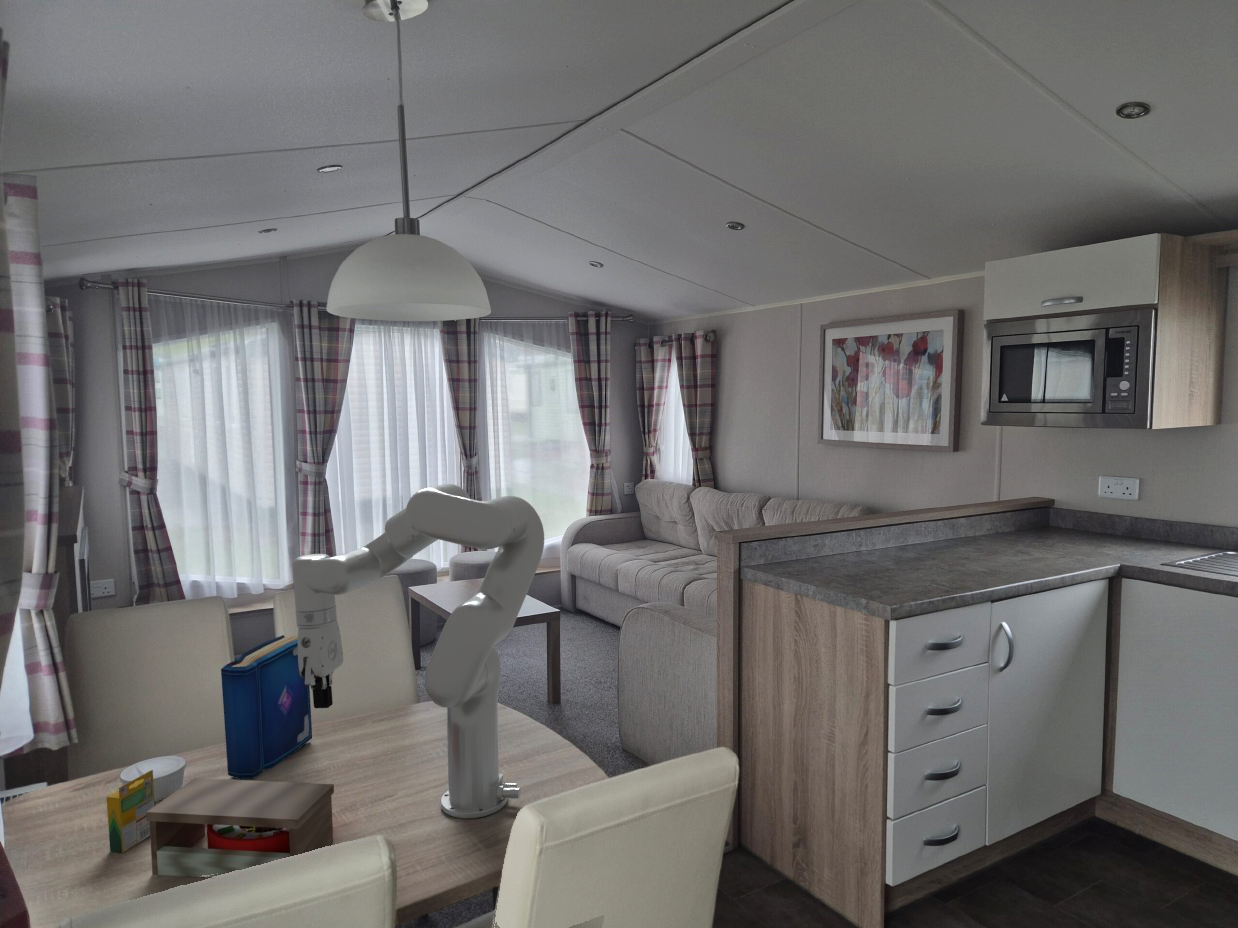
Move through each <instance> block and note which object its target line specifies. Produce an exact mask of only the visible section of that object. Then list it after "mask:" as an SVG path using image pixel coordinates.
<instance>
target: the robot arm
mask: <svg viewBox="0 0 1238 928" xmlns="http://www.w3.org/2000/svg"><path fill="white" fill-rule="evenodd" d="M438 540H439V541H444V542H447V543H452V544H455V545H460V546H464V547H468V548H473V549H477V550H493V549H496V548H498V550H497V551H496V553H495V554H494V556H493V558H492V560H491V561H490V563H489V565H488V567H487V568H486V569H487V570H486V572H485V575H484V578H483V580H482V582H481V584H480V586H479V588H478V590H477V592H476V594H474V595H473V596H472V597H471V598H470V599H468V600H466V601H463V602H462V603H461V604H459V605H458V606H457V607H456V608H455V609H454V610H453V611H452V612H451V614H450V615H449V616H448V618H447V619H446V621H445V624H444V625H443V628H442V630H441V633H440V634H439V635H440V636H439V637H438V640H437V641H436V645H435V647H434V649H433V651H432V655H431V657H430V659H429V661H428V663H427V667H426V669H425V672H424V673H425V674H424V688H425V692H426V694H427V696H428V698H429V699H430V700H431V702H433V704H435V705H437V706H438V707H441V708H447V709H446V731H447V734H446V737H447V768H448V770H447V773H448V775H447V776H448V779H447V780H448V790H447V791H445V792H444V793H443V794H442V796H441V798H440V808H441V810H442V811H443V813H445V814H446V815H448V816H450V817H452V818H458V819H478V818H483V817H486V816H490V815H493V814H495V813H497V812H498V811H500V810H501V809H502V808H504V806H505V805H506V804H507V802H508V798H509V799H517V800H518V799H519V800H520V798H521V794H522V793H521V787H518V783H517V782H506V781H505V780H504V773H500V772H499V733H498V732H499V729H498V727H499V725H498V723H499V721H498V717H499V716H498V715H499V714H498V705H499V704H498V698H499V688H500V687H499V686H500V680H501V679H500V678H501V660H500V655H499V653H498V651H497V649H496V647H495V646H496V645H497V644H499V643H500V642H502V640H504V639H505V638H506V637H507V636H509V634H510V633H511V632H512V630H513V629H514V626H515V625H516V624H515V623H516V621H517V618H518V615H519V613H520V611H521V609H522V606H523V604H524V602H525V599H526V597H527V595H528V593H529V589H530V587H531V584H532V582H533V580H534V577H535V574H536V573H537V570H538V568H539V566H540V562H541V559H542V557H543V552H544V548H545V530H544V526H543V522H542V520H541V518H540V515H539V514H538V513H537V510H536V509H535V508H534V507H533V506H532V505H531V503H529V502H528V501H527V500H525V499H523V498H522V497H519V496H513V495H512V496H511V495H507V496H499V497H496V498H493V499H489V500H485V501H481V500H477V499H471V497H470V495H469V494H468V492H467V491H466V490H465V489H464V488H463V487H460V486H459V485H457V484H452V483H445V484H439V485H435V486H429V487H425V488H421V489H419V490H418V491H416V492H415V493H414V494H413V495H412V496H411V497H410V498H409V499H408V501H407V504H406V507H404V508H403V509H401V510H400V511H399V512H397V513H395V514H393V515H392V516H391V517H389V518H388V520H386V522H385V525H384V533H382V534H381V535H379V536H378V537H377V538H375V539H374V540H372V541H370V542H369V543H367V544H366V545H364V546H363V547H361V548H358V549H355V550H352V551H347V552H344V553H341V554H339V555H335V556H334V555H333V556H332V557H331V556H330V555H328V554H326V553H314V554H313V553H311V554H305V555H300V556H298V557H296V558H294V560H293V561H292V564H291V566H292V569H291V570H292V582H293V583H292V584H293V592H294V593H293V595H294V606H295V619H296V620H295V622H296V628H298V629H297V637H298V667H299V673H300V676H301V677H302V678H305V686H309V687H310V690H312V700H313V701H312V702H313V708H314V709H329V708H330V707H332V706H333V704H334V702H333V690H332V689H333V688H332V685H333V673H334V672H335V671H336V670H337V669H338V668H339V667H340V666H342V665H343V663H344V653H343V645H342V637H341V630H340V627H339V622H338V617H337V616H338V614H337V605H336V604H337V603H336V596H341V595H345V594H349V593H350V592H354V591H356V590H358V589H360V588H363V587H366V586H368V585H372V584H373V583H375V582H377V581H380V580H381V579H382V578H384V577H385V576H386V575H388V574H390V573H391V572H393V571H395V570H396V569H398V568H399V567H400V566H402V565H403V564H405V563H406V562H407V561H408V560H410V559H412V558H413V557H414V556H415V555H417V554H418V553H420V552H421V551H423V550H424V549H426V548H427V547H428V546H430V545H431V544H433V543H435V542H437V541H438Z"/></svg>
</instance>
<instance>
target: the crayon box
mask: <svg viewBox="0 0 1238 928" xmlns="http://www.w3.org/2000/svg"><path fill="white" fill-rule="evenodd" d="M155 803H156V802H155V801H154V786H153V770H151V771H149V772H147V773H145V774H143V775H142V776H140V777H138V778H136V779H134V780H132V781H131V782H129V783H127V784H125V785H121V786H120V787H119V788H118V790H117V791H116V792H114V793H112V794H110V795H108V796H106V809H107V825H108V838H109V840H108V841H109V851H110V853H119V854H125V853H126V852H127V851H128V850H130V849H131V848H134V847H135V846H137V844H139V843H142V841H144V840H145V839H147V838H149V837H150V821H147V813H146V812H147V811H149V810H150V809H151V808H153V807H154V806H156V804H155Z"/></svg>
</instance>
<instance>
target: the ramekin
mask: <svg viewBox="0 0 1238 928" xmlns="http://www.w3.org/2000/svg"><path fill="white" fill-rule="evenodd" d="M186 767H187V761H186V760H185V758H183V757H181V756H177V755H166V756H164V755H163V756H157V757H153V758H148V759H144V760H141V761H139V762H136V763H134V764H132V765H130V766H127V768H125V769H123V771H122V772H121V773H119V774H120V775H119V781H120V783H121V784H122V785H121V786H123V785H125V784H127V783H129V782H131V781H132V780H134V779H136V778H138V777H140V776H142V775H143V774H145V773H147V772H149V771H151V770H153V786H154V801H155V803H157V802H161V801H163V800H164V799H166V798H167V797H168V796H170V795H171V794H173V793H174V792H176V791H177V790H178V789H180V788H181V787H183V783H184V777H185V776H184V775H185V769H186Z"/></svg>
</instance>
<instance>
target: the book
mask: <svg viewBox="0 0 1238 928" xmlns="http://www.w3.org/2000/svg"><path fill="white" fill-rule="evenodd" d="M220 673H221V674H220V675H221V690H222V704H223V718H224V719H223V721H224V731H225V732H224V735H225V737H224V738H225V746H226V747H225V750H226V752H225V753H226V765H227V776H230V777H232V778H235V779H237V780H253V779H254V778H256V777H257V776H259V775H261V774H262V773H263V771H266V770H269V769H272V768H274V767H275V766H277V765H279V764H280V763H281V762H282V761H284V760H285V759H287V758H288V757H290V756H291V755H293V754H294V753H296V751H298V750H299V749H300V748H302V747H303V746H304V745H305V744H306V743H308V742H310V740H312V739H313V730H312V729H313V726H312V709H311V693H310V692H311V686H305V678H302V677H301V676H300V673H299V667H298V635H297V636H296V635H290V636H286V637H285V635H284V634H283V635H280V636H278V637H275V638H271V639H269V640H268V641H265V642H262V643H261V644H258V645H257V646H255V647H253V648H252V649H249V650H247V651H246V652H244V653H241V655H240V656H239V657H238V658H237V659H236V660H234V661H230V662H229V663H227V664H226V665H223V666H222V668H221V669H220Z"/></svg>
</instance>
